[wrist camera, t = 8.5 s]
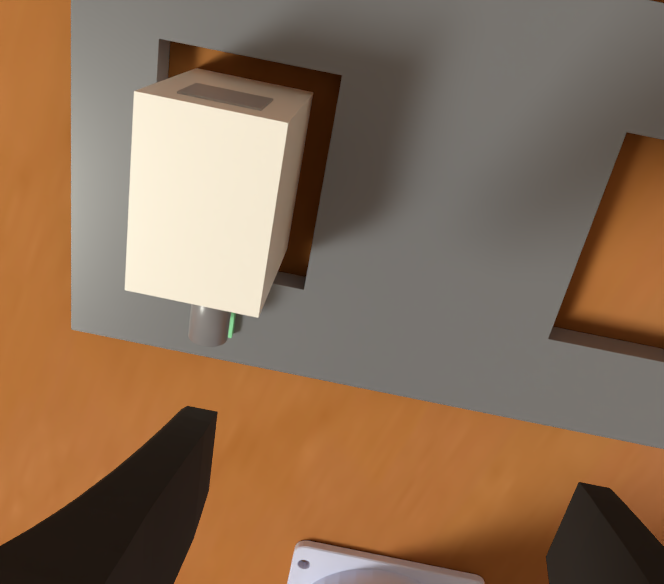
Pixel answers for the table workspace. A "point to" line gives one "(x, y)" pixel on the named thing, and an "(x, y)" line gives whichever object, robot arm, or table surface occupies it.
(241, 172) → the plug
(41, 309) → the table surface
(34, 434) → the table surface
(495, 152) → the jack panel
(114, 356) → the table surface
